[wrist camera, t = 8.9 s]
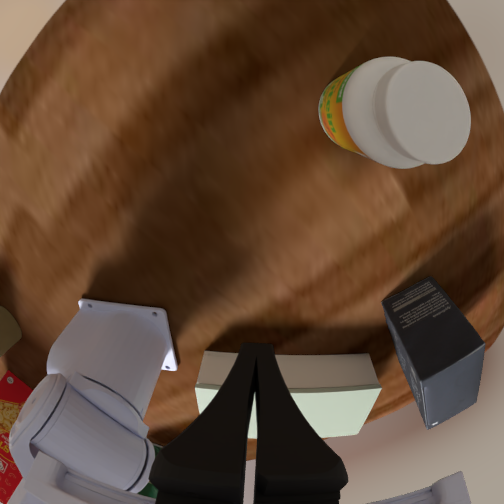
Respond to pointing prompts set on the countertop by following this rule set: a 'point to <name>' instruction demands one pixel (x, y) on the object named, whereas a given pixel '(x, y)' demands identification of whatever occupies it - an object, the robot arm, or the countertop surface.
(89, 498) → the robot arm
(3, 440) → the food packaging
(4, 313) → the olive pepper mill
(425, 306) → the box
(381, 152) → the supplement bottle
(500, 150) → the countertop surface
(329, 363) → the keepsake box
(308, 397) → the lid
